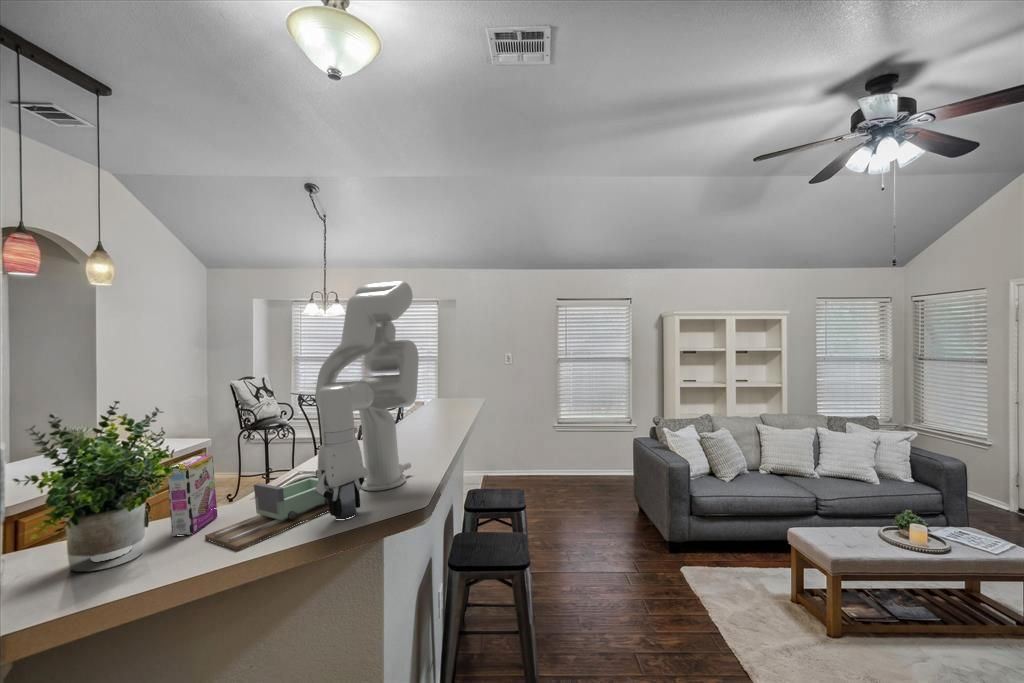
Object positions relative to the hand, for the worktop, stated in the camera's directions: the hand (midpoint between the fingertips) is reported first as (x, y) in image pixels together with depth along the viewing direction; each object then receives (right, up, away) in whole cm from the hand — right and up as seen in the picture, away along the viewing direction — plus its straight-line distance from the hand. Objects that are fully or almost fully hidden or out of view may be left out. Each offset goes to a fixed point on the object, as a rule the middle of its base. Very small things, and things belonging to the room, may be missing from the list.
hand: (345, 510), depth 113 cm
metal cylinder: (0, -1, 0) cm, 2 cm away
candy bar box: (-37, -5, +1) cm, 37 cm away
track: (-16, -3, +1) cm, 16 cm away
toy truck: (-14, -1, +5) cm, 14 cm away
